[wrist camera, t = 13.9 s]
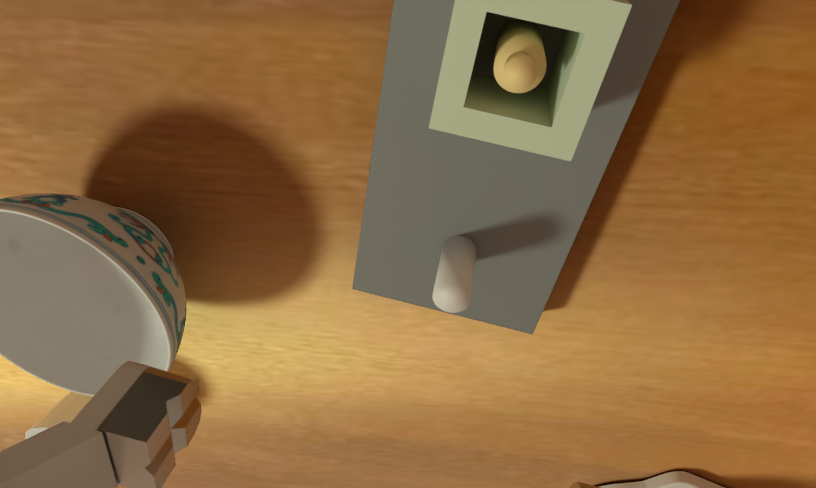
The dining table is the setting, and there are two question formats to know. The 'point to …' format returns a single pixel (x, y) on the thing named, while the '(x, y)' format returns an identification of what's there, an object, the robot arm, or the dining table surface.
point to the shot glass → (60, 412)
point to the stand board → (485, 169)
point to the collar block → (538, 108)
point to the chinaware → (85, 290)
